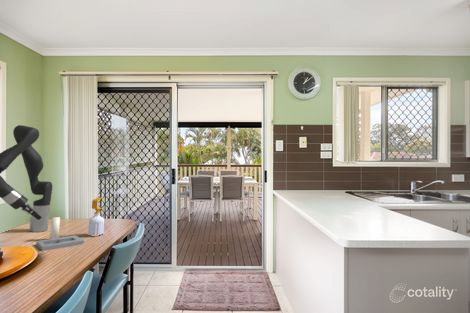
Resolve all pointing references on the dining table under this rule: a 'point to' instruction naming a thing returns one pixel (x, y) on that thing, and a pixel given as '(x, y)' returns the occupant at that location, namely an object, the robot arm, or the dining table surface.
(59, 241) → the rectangular recess board
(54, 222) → the cream rounded cylinder
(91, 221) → the soap bottle
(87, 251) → the dining table surface
